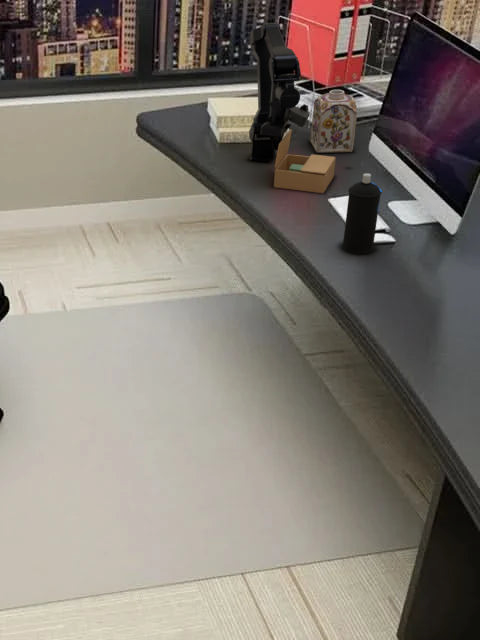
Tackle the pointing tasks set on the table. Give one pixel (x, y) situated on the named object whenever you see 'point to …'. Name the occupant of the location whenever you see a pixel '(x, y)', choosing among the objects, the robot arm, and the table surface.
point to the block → (296, 168)
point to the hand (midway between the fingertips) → (276, 149)
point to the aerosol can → (361, 216)
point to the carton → (312, 180)
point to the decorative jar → (333, 122)
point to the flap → (283, 148)
